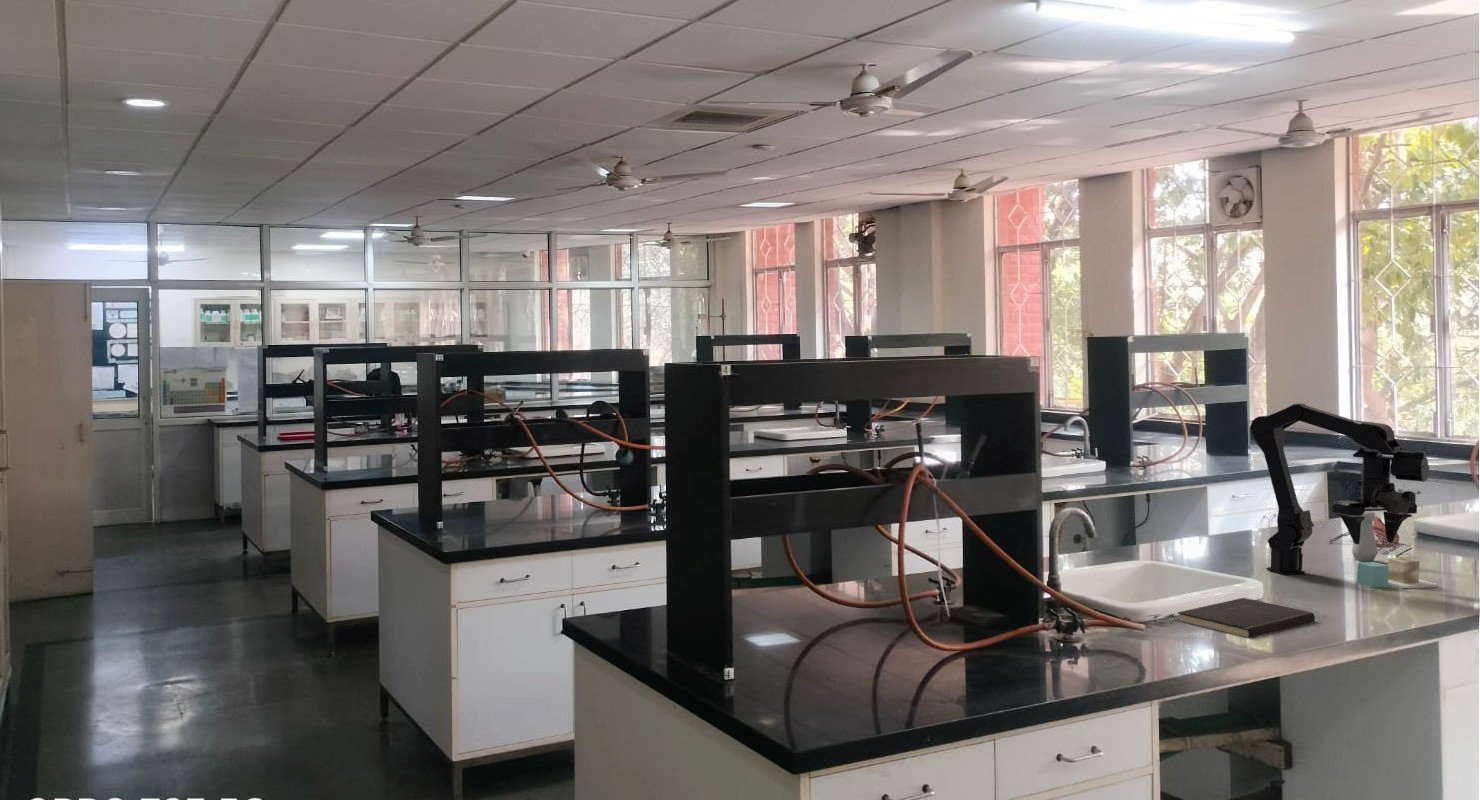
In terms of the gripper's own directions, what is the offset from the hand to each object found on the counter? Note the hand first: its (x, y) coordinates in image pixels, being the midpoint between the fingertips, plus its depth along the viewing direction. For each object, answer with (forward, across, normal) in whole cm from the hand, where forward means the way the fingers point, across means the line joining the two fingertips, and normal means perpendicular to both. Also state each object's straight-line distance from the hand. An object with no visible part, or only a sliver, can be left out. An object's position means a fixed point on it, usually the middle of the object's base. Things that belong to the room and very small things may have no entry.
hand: (1373, 543), depth 263 cm
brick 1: (+10, 0, 0) cm, 10 cm away
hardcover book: (+11, -51, -23) cm, 57 cm away
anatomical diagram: (+11, +37, +39) cm, 55 cm away
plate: (+10, +9, 0) cm, 13 cm away
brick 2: (+9, +8, 0) cm, 13 cm away
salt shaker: (+10, +20, +25) cm, 33 cm away
